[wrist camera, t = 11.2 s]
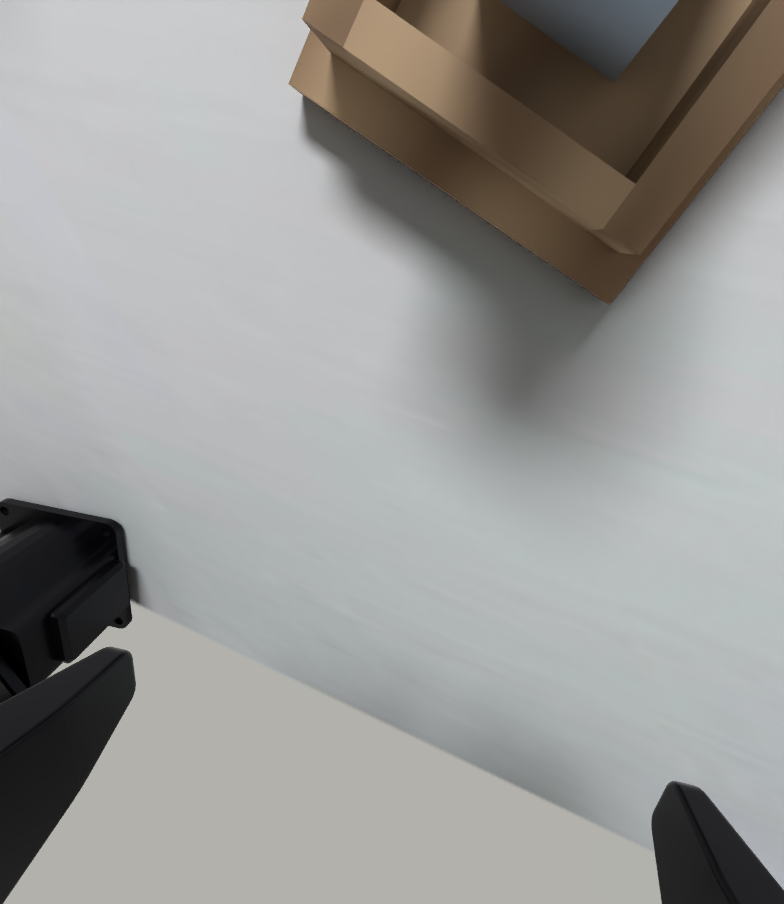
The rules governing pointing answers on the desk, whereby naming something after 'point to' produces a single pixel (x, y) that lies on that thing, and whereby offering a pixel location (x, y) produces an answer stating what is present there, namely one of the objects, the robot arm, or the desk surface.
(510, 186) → the tray
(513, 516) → the desk surface
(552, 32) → the box
